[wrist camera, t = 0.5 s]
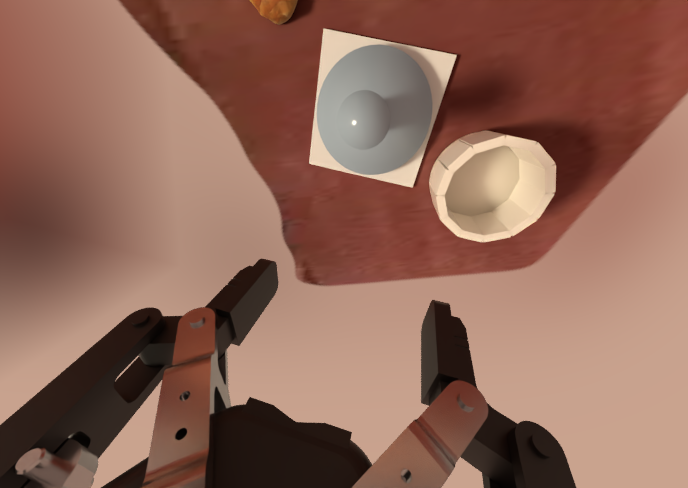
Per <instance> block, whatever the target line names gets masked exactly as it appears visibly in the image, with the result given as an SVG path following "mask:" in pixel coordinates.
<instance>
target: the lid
mask: <svg viewBox="0 0 688 488" xmlns="http://www.w3.org/2000/svg"><path fill="white" fill-rule="evenodd" d="M432 104H433V103H432V94H431V90H430V85H429V83H428V80H427V78H426V76H425V74H424V72H423V70H422V69H421V67H420V66H419V65H418V63H417V62H416V61H415V60H414V59H413V58H412V57H411V56H409V55H408V54H406V53H405V52H404V51H402V50H399V49H397V48H395V47H391V46H388V45H380V44H378V45H368V46H363V47H360V48H358V49H355V50H353V51H352V52H350V53H348V54H346V55H345V56H344V57H343V58H341V59H340V60H339V61H338V62H337V63H336V64H335V65H334V66H333V68H332V69H331V70H330V72H329V73H328V75H327V76H326V78H325V80H324V82H323V85H322V87H321V90H320V93H319V97H318V102H317V124H318V130H319V133H320V137H321V139H322V141H323V144H324V145H325V147H326V149H327V151H328V152H329V153H330V155H331V156H332V157H333V158H334V159H335V160H336V161H337V162H338V163H339V164H341V165H342V166H343V167H345V168H347V169H349V170H351V171H353V172H356V173H359V174H365V175H378V174H383V173H387V172H390V171H393V170H395V169H397V168H399V167H400V166H402V165H403V164H405V163H406V162H407V161H408V160H409V159H411V158H412V157H413V156H414V154H415V153H416V152H417V151H418V149H419V148H420V147H421V145H422V143H423V141H424V140H425V138H426V135H427V133H428V130H429V127H430V123H431V118H432Z"/></svg>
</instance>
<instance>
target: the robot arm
mask: <svg viewBox="0 0 688 488" xmlns="http://www.w3.org/2000/svg"><path fill="white" fill-rule="evenodd" d="M277 288H278V276H277V265H276V262H274V261H270V260H266V259H260V260H258V262H257V263H256V264H255V265H254V266H248V267H246V268H244V269H243V270H241V271H239V273H238V274H237V275H236V276H235V277H234V278H233V279H232V280H231V281H230V282H229V283H228V285H226V286H225V287H224V288H223V289H222V290H221V291H220V292H219V293H218V294H217V295H216V296H215V297H214V298H213V299H212V300H211V302H210V303H209V304H208V305H207V306H206V307H203V308H202V307H201V308H197V309H193V310H191V311H189V312H188V313H186V314H185V315H184V316H162V314H161V312H160V310H158V309H156V308H144V309H141V310H138V311H136V312H134V313H132V314H130V315H129V316H127V317H126V318H125V319H124V320H123V321H122V322H120V323H119V324H118V325H117V326H116V327H115V328H114V329H112V330H111V331H110V332H109V333H108V334H107V335H105V336H104V337H103V338H102V339H101V340H99V341H98V342H97V343H96V344H95V345H93V346H92V347H91V348H90V349H89V350H88V351H86V352H85V353H84V354H83V355H82V356H81V357H79V358H78V359H77V360H76V361H75V362H74V363H72V364H71V365H70V366H69V367H68V368H67V369H66V370H64V371H63V372H62V373H61V374H60V375H59V376H57V377H56V378H55V379H54V380H53V381H51V382H50V383H49V384H48V385H47V386H46V387H45V388H43V389H42V390H41V391H40V392H39V393H37V394H36V395H35V396H34V397H33V398H32V399H30V400H29V401H28V402H27V403H26V404H25V405H24V406H22V407H21V408H20V409H19V410H17V411H16V412H15V413H14V414H13V415H12V416H10V417H9V418H8V419H7V420H6V421H5V422H4V423H2V424H1V425H0V488H91V486H92V484H93V481H94V475H95V473H96V470H97V467H98V458H99V457H100V456H101V455H102V453H103V452H104V451H105V450H106V448H107V447H108V446H109V445H110V443H111V442H112V441H113V440H114V438H115V437H116V436H117V435H118V433H119V432H120V431H121V430H122V428H123V427H124V426H125V425H126V424H127V422H128V421H129V420H130V418H131V417H132V416H133V415H134V414H135V412H136V411H137V410H138V409H139V408H140V406H141V405H142V404H143V402H144V401H145V400H146V399H147V398H148V396H149V395H150V394H151V393H152V391H153V390H154V389H155V387H156V386H157V385H158V384H159V383H160V381H161V380H162V385H161V391H160V396H159V402H158V408H157V414H156V419H155V425H154V430H153V436H152V442H151V447H150V453H149V457H147V458H146V459H145V460H143V461H141V462H140V463H138V464H137V465H135V466H134V467H132V468H131V469H129V470H128V471H126V472H124V473H123V474H121V475H120V476H118V477H117V478H115V479H114V480H112V481H111V482H109V483H107V484H106V485H104V486H103V487H101V488H441V487H442V486H443V484H444V483H445V481H446V480H447V478H448V477H449V476H450V474H451V473H452V471H453V469H454V467H455V464H456V462H457V460H458V459H459V458H460V457H461V458H463V459H464V460H466V461H467V462H468V463H470V464H471V465H472V466H474V467H475V468H477V469H478V470H479V471H481V472H482V476H483V484H484V488H576V486H575V483H574V480H573V477H572V474H571V471H570V468H569V465H568V462H567V459H566V456H565V454H564V451H563V449H562V447H561V446H560V444H559V443H558V441H557V440H556V439H555V438H554V437H553V436H552V435H551V434H550V433H549V432H548V431H547V430H546V429H545V428H543V427H542V426H540V425H538V424H536V423H534V422H530V421H522V422H520V423H519V424H517V423H515V422H514V421H512V420H510V419H509V418H507V417H506V416H504V415H502V414H501V413H499V412H497V411H496V410H494V409H493V408H492V407H491V406H490V405H489V404H488V403H487V402H486V400H485V398H484V397H483V395H482V394H481V393H480V391H479V390H478V389H477V386H476V383H475V376H474V371H473V365H472V360H471V355H470V350H469V343H468V341H467V339H468V338H467V333H466V328H465V326H464V325H463V323H462V321H461V320H460V318H458V317H453V316H451V310H450V305H449V304H448V303H444V302H440V301H435V300H432V301H431V303H430V306H429V308H428V311H427V313H426V316H425V318H424V321H423V324H422V331H421V403H423V404H426V405H429V407H428V408H427V409H426V410H425V411H424V412H423V414H422V415H421V416H420V417H419V418H418V419H417V420H414V421H413V422H412V423H411V424H410V425H409V426H408V427H407V428H406V429H405V430H404V431H403V432H402V434H401V435H400V436H399V437H398V438H397V439H396V440H395V441H394V442H393V443H392V444H391V445H390V446H389V448H388V449H387V450H386V451H385V452H384V453H383V454H382V455H381V456H380V457H379V459H378V460H377V461H376V462H375V463H374V464H373V465H372V464H371V462H370V461H369V459H368V457H367V456H366V455H365V453H364V452H363V451H362V450H361V449H360V448H359V447H358V446H357V445H356V444H355V443H353V442H352V441H351V440H350V439H351V433H352V432H349V431H347V430H344V429H341V428H338V427H335V426H332V425H329V424H326V423H301V422H295V421H293V420H292V419H291V418H289V417H288V416H287V415H285V414H284V413H283V412H282V411H280V410H279V409H278V408H276V407H275V406H274V405H271V404H268V403H265V402H262V401H259V400H257V399H254V398H251V397H250V398H249V399H248V401H247V403H246V405H236V406H233V407H231V403H230V396H229V390H228V366H227V365H228V362H227V348H228V347H229V346H230V344H235V345H238V346H239V345H240V344H241V343H242V341H243V340H244V338H245V337H246V335H247V334H248V332H249V331H250V330H251V328H252V327H253V325H254V324H255V322H256V321H257V320H258V318H259V317H260V315H261V314H262V312H263V311H264V309H265V308H266V307H267V305H268V304H269V302H270V301H271V299H272V298H273V296H274V295H275V293H276V291H277ZM137 356H139V357H138V358H137V359H136V361H134V362H133V363H132V365H131V366H130V367H129V368H128V369H127V370H126V371H125V372H124V373H123V374H122V375H121V376H120V377H119V378H118V379H117V380H116V378H117V377H118V376H119V374H120V373H121V372H122V371H123V370H124V369H125V368H126V367H127V366H128V365H129V364H130V363H131V362H132V361H133V360H134V359H135V358H136V357H137ZM115 380H116V381H115Z"/></svg>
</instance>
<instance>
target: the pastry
mask: <svg viewBox="0 0 688 488" xmlns="http://www.w3.org/2000/svg"><path fill="white" fill-rule="evenodd" d="M250 1H251V3H252V4H253V5H254V6H255V7H256V8H257V10H258V11H259V13H260V15H261V16H263V17H265V18H268V19H269V20H271V21H272V22H274V23H276V24H279V25H280V24H282V23H284V22H286V21H288V20H289V19H290V17H291V16H292V14H293V12H294V10H295V8H296V5H297V1H298V0H250Z"/></svg>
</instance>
